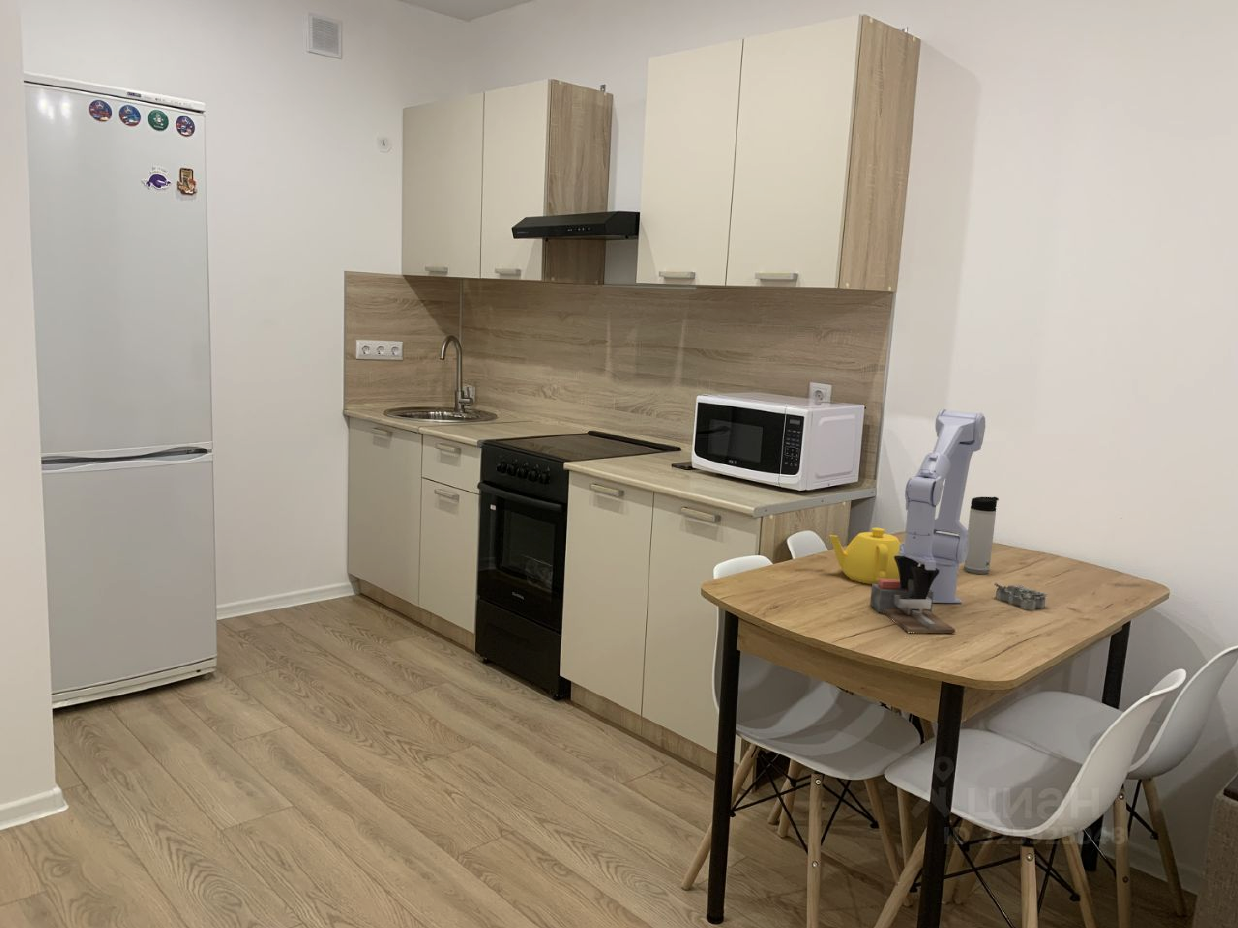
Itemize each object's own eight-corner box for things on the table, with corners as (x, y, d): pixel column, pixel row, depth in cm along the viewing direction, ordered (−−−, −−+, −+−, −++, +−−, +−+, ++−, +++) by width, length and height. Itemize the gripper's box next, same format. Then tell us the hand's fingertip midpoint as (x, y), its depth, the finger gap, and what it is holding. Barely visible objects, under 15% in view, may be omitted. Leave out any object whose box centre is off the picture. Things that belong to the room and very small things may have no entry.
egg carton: (990, 598, 224) (992, 582, 224) (1012, 596, 228) (1014, 579, 227) (1027, 612, 215) (1028, 594, 214) (1050, 608, 218) (1052, 591, 218)
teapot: (901, 571, 244) (905, 523, 242) (916, 592, 226) (921, 540, 224) (822, 565, 246) (826, 518, 244) (831, 585, 227) (835, 534, 225)
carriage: (892, 608, 207) (895, 576, 206) (923, 609, 207) (926, 577, 206) (899, 614, 203) (902, 581, 202) (930, 614, 204) (933, 581, 203)
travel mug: (994, 575, 245) (1002, 499, 242) (968, 573, 245) (976, 498, 242) (985, 568, 251) (993, 495, 248) (960, 567, 251) (968, 493, 248)
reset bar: (878, 585, 211) (878, 578, 211) (920, 585, 213) (921, 579, 212) (882, 588, 209) (882, 581, 209) (925, 589, 210) (926, 582, 210)
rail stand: (870, 605, 213) (872, 583, 212) (920, 605, 215) (923, 584, 214) (903, 633, 195) (906, 610, 194) (959, 634, 196) (961, 611, 195)
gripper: (888, 524, 209) (882, 583, 211) (915, 540, 195) (909, 603, 197) (918, 525, 210) (912, 584, 212) (948, 540, 196) (941, 603, 198)
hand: (913, 593), depth 205 cm, fingers open, 7 cm apart
